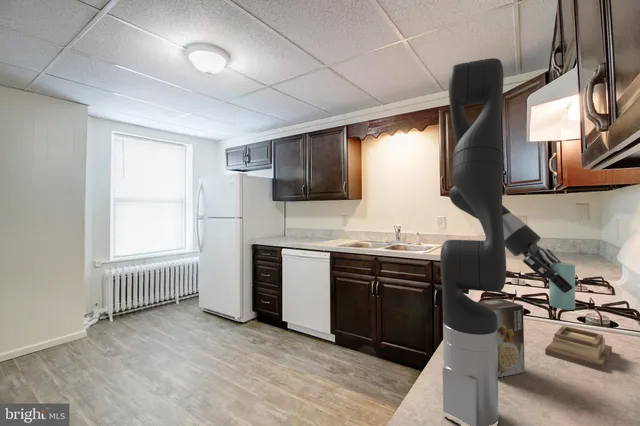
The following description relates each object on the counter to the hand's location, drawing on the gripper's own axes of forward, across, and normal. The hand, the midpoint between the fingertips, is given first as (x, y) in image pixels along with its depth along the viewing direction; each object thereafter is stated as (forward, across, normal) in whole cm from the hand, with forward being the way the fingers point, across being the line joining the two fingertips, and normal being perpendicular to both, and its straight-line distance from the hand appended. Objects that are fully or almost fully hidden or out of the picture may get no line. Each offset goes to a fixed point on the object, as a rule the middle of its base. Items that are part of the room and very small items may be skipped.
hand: (571, 288), depth 71 cm
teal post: (+2, 0, +5) cm, 5 cm away
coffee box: (+6, -11, +23) cm, 26 cm away
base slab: (+13, +13, +15) cm, 24 cm away
